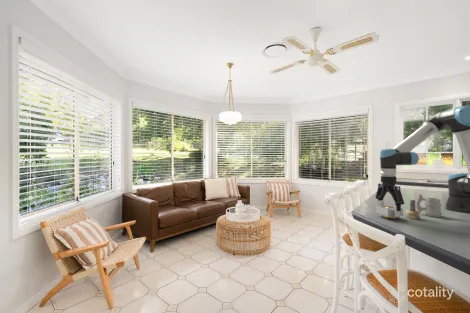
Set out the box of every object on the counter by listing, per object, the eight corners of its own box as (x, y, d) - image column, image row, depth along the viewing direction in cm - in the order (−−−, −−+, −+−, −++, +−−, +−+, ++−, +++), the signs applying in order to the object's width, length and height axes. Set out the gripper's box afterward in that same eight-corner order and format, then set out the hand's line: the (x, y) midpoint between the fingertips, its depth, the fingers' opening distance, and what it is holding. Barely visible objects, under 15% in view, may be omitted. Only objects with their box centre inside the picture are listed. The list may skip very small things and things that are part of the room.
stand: (413, 216, 134) (412, 199, 133) (422, 219, 128) (422, 201, 128) (403, 216, 133) (403, 199, 133) (412, 219, 127) (412, 201, 127)
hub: (390, 215, 136) (390, 205, 136) (399, 218, 129) (399, 208, 129) (379, 216, 135) (378, 206, 135) (388, 219, 128) (388, 208, 128)
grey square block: (390, 211, 137) (390, 205, 137) (402, 215, 128) (402, 208, 128) (376, 212, 136) (376, 205, 136) (387, 216, 127) (387, 209, 127)
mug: (441, 218, 129) (441, 196, 129) (415, 214, 137) (414, 194, 137) (442, 215, 134) (442, 194, 134) (417, 212, 143) (416, 192, 142)
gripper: (368, 174, 143) (369, 209, 143) (399, 177, 120) (399, 219, 120) (379, 174, 144) (380, 208, 144) (412, 177, 121) (413, 219, 121)
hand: (389, 213), depth 132 cm, fingers open, 11 cm apart
